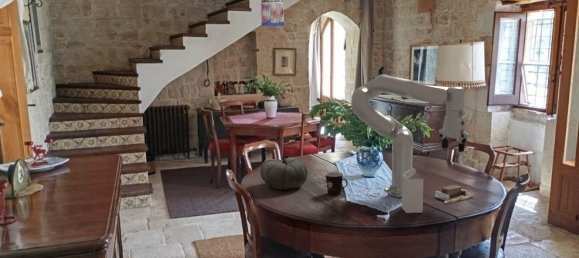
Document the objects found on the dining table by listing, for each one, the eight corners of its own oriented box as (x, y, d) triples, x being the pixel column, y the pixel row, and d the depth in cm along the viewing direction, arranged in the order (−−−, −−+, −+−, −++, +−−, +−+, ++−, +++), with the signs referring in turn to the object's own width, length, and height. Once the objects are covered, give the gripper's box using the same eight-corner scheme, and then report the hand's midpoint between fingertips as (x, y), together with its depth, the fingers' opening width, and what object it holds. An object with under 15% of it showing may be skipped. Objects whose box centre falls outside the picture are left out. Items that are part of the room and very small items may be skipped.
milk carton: (417, 207, 195) (418, 166, 192) (422, 213, 188) (423, 170, 185) (401, 207, 195) (402, 166, 192) (406, 213, 188) (407, 170, 185)
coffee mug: (322, 192, 220) (322, 173, 218) (338, 190, 223) (338, 171, 221) (333, 199, 209) (333, 178, 208) (349, 196, 212) (349, 176, 211)
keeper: (447, 201, 203) (448, 195, 202) (434, 196, 210) (434, 190, 209) (467, 197, 208) (467, 191, 208) (454, 192, 216) (454, 186, 215)
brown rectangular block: (460, 196, 210) (461, 186, 209) (448, 200, 205) (448, 189, 204) (453, 194, 213) (454, 184, 212) (441, 197, 209) (441, 187, 208)
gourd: (248, 181, 231) (254, 150, 229) (282, 180, 249) (287, 150, 247) (280, 196, 214) (287, 162, 212) (314, 193, 232) (320, 161, 230)
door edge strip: (445, 204, 199) (445, 201, 199) (444, 203, 200) (444, 201, 200) (473, 197, 207) (473, 195, 207) (471, 197, 208) (471, 195, 208)
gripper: (475, 115, 197) (473, 152, 200) (445, 111, 212) (444, 145, 215) (464, 116, 193) (462, 154, 196) (434, 112, 209) (433, 147, 211)
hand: (452, 149), depth 205 cm, fingers open, 9 cm apart
